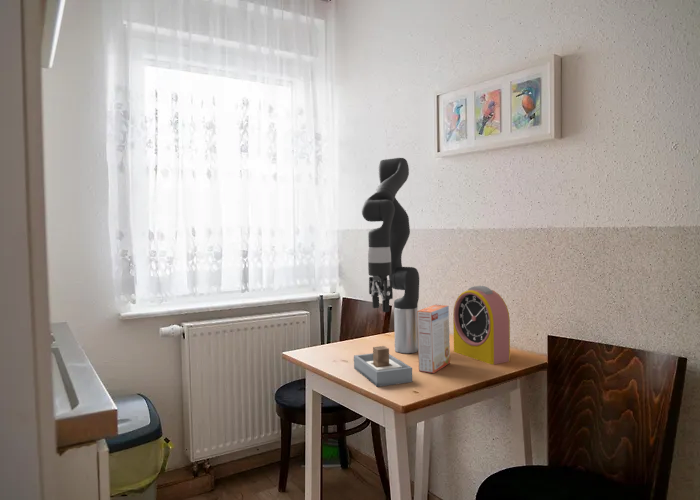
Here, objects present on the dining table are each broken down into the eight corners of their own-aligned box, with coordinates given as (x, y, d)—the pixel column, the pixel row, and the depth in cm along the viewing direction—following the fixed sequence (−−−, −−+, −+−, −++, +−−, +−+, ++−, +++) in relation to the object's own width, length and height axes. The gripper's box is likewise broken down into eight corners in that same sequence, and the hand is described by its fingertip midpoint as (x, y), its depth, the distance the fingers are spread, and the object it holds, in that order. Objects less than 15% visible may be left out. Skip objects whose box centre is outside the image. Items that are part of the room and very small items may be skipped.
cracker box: (435, 361, 170) (434, 304, 170) (450, 363, 167) (449, 305, 166) (417, 371, 159) (416, 309, 158) (433, 374, 156) (432, 311, 155)
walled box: (385, 364, 168) (385, 351, 168) (412, 381, 148) (412, 367, 148) (354, 368, 164) (353, 355, 164) (377, 386, 144) (376, 372, 144)
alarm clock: (452, 351, 183) (452, 284, 182) (470, 348, 188) (470, 282, 186) (492, 364, 165) (491, 289, 164) (511, 360, 169) (510, 287, 168)
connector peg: (384, 369, 159) (383, 345, 158) (389, 372, 155) (388, 348, 154) (373, 370, 157) (373, 347, 157) (378, 374, 153) (377, 349, 153)
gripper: (399, 261, 149) (400, 312, 150) (381, 259, 162) (382, 305, 163) (377, 262, 146) (378, 314, 147) (361, 260, 160) (362, 307, 160)
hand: (380, 309), depth 155 cm, fingers open, 8 cm apart
